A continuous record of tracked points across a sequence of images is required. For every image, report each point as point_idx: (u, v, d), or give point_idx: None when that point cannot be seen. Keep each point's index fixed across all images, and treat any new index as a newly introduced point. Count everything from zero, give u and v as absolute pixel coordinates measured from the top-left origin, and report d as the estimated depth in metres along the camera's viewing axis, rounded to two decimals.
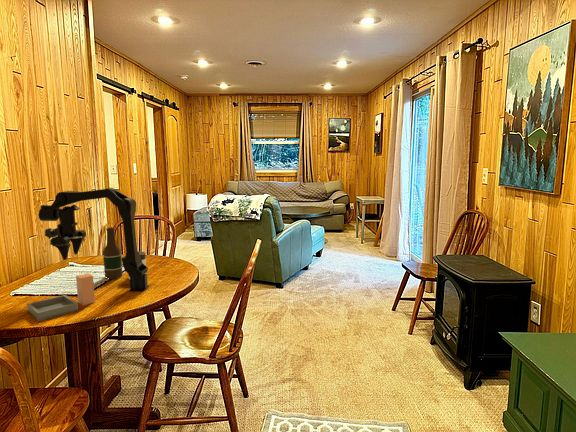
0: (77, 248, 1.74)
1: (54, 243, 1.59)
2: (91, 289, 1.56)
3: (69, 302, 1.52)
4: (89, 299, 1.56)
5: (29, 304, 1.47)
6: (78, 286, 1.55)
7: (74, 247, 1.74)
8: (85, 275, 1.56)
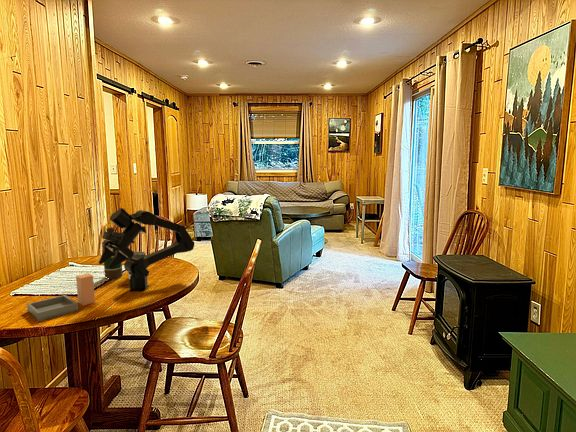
0: (105, 259, 1.65)
1: (125, 251, 1.57)
2: (91, 289, 1.56)
3: (69, 302, 1.52)
4: (89, 299, 1.55)
5: (29, 304, 1.47)
6: (78, 286, 1.55)
7: (103, 257, 1.65)
8: (85, 275, 1.56)
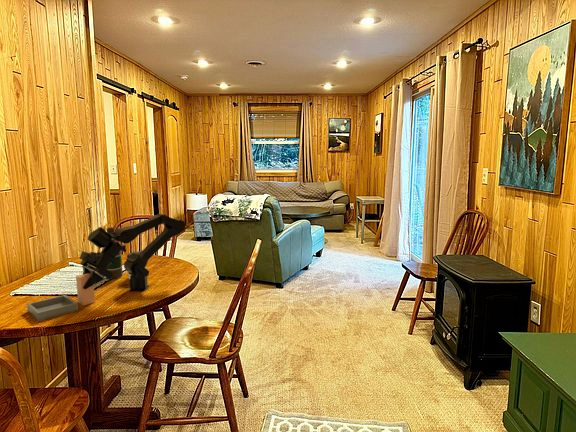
0: None
1: (102, 273, 1.51)
2: (91, 289, 1.56)
3: (69, 302, 1.52)
4: (89, 299, 1.55)
5: (29, 304, 1.47)
6: (78, 286, 1.55)
7: None
8: (85, 275, 1.56)
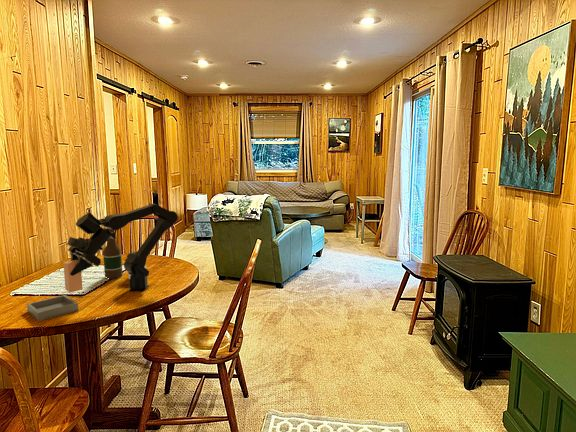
0: None
1: (90, 259, 1.48)
2: (79, 275, 1.52)
3: (69, 302, 1.52)
4: (76, 286, 1.52)
5: (29, 304, 1.47)
6: (65, 272, 1.51)
7: None
8: (73, 261, 1.52)
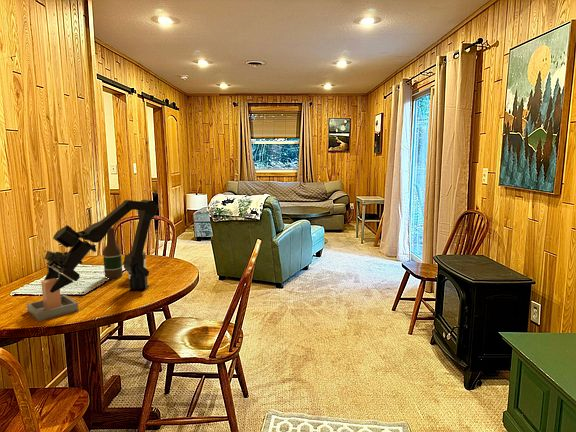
0: None
1: (68, 274, 1.42)
2: (58, 295, 1.47)
3: (69, 302, 1.52)
4: (55, 305, 1.47)
5: (29, 304, 1.47)
6: (43, 292, 1.46)
7: (47, 279, 1.50)
8: (51, 280, 1.47)
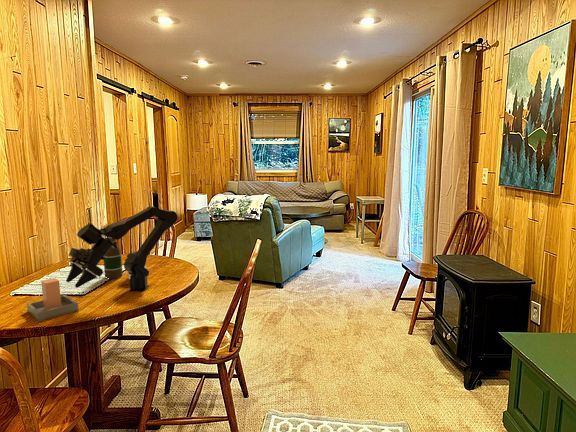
0: (73, 277, 1.57)
1: (92, 270, 1.48)
2: (58, 295, 1.47)
3: (69, 302, 1.52)
4: (55, 305, 1.47)
5: (29, 304, 1.47)
6: (43, 292, 1.46)
7: (71, 274, 1.56)
8: (51, 280, 1.47)
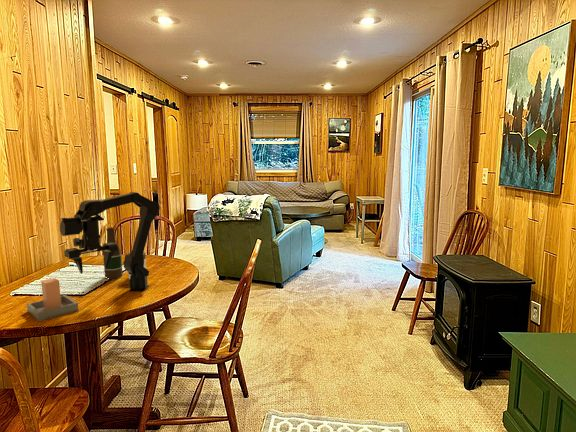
0: (105, 262, 1.60)
1: (65, 255, 1.51)
2: (58, 295, 1.47)
3: (69, 302, 1.52)
4: (55, 305, 1.47)
5: (29, 304, 1.47)
6: (43, 292, 1.46)
7: (104, 261, 1.61)
8: (51, 280, 1.47)
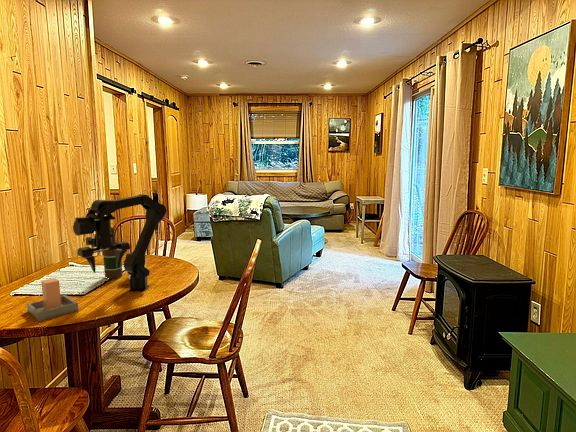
0: (117, 261, 1.62)
1: (78, 254, 1.53)
2: (58, 295, 1.47)
3: (69, 302, 1.52)
4: (55, 305, 1.47)
5: (29, 304, 1.47)
6: (43, 292, 1.46)
7: (116, 259, 1.63)
8: (51, 280, 1.47)
